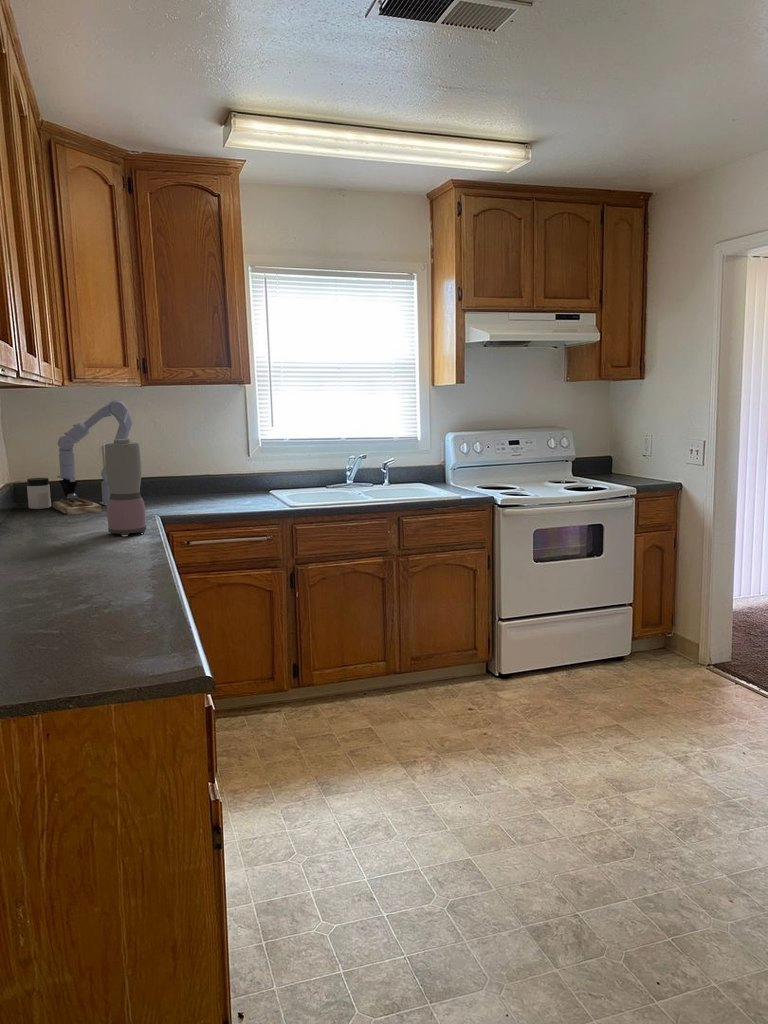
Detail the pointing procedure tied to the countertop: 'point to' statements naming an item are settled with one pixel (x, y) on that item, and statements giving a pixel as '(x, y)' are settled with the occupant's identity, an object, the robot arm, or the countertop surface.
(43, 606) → the countertop surface
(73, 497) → the ball
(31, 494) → the jar
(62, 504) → the board
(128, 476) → the blender
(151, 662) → the countertop surface
